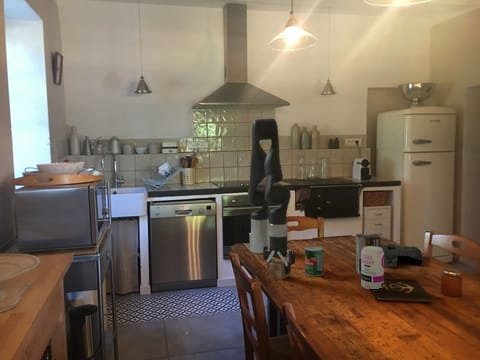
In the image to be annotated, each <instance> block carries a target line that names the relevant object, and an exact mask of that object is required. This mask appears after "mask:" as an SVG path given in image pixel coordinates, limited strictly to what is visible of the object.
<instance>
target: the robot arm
mask: <svg viewBox="0 0 480 360" xmlns="http://www.w3.org/2000/svg"><path fill="white" fill-rule="evenodd" d="M267 140H271V142H270V143H271V144H270V148H269V151H268V152H266V150H264V149H263V147H262V145H261V144H260V141H267ZM280 156H281V155H280V139H279V129H278V122H277V121H276V119H275V118H259V119H258V118H257V119H253V121H252V124H251V154H250V163H249V164H250V165H249V182H248V190H247V202H248V205H250V206H252V207H253V206H254V207H257V206H258V207H259V206H261V208H259V209H258V210H255V211H252V212H251V214H250V230H251V231H250V232H249V251H250V252H251V253H254V254H263V255H262V257H263V258H262V259H263V261H265V262H266V263H267V264H266V265H267V266H266V267H267V270H268V272H269V263H271V262H273V261H274V260H273V259H277V260H281V261H283V262H284V263H285V265H286V266H285V274H286V275H288V274H289V275H290V273H291V270H292V269H291V267H292V266H293V265H295V264H296V259H295V257H296V256H295V250H294V249H288V241H289V239H288V224H287V222H288V220H287V215H288V213H287V212H288V208H289V203H290V200H291V195H292V193H291V190H290V188H289V187H288V186H286V185H279V186H274V185H275V184H279V183H281V182H282V181H283V179H284V175H283V170H282V166H281V158H280ZM263 180H265V183H266V184H265V187H258V186H259V185H260V184H261V182H263ZM271 204H272V205H273V204H279V206H278V207H276V208H272V209H271V210H270V207H269V206H270V205H271ZM269 210H270V211H269Z"/></svg>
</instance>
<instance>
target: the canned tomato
mask: <svg viewBox="0 0 480 360" xmlns="http://www.w3.org/2000/svg"><path fill="white" fill-rule="evenodd" d="M324 257H325V256H324V247H323V246H318V245H308V246H304V273H305V275H306V276H309V277H321V276H323V275H324V274H325V272H324V270H325V268H324V262H325V261H324Z"/></svg>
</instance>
